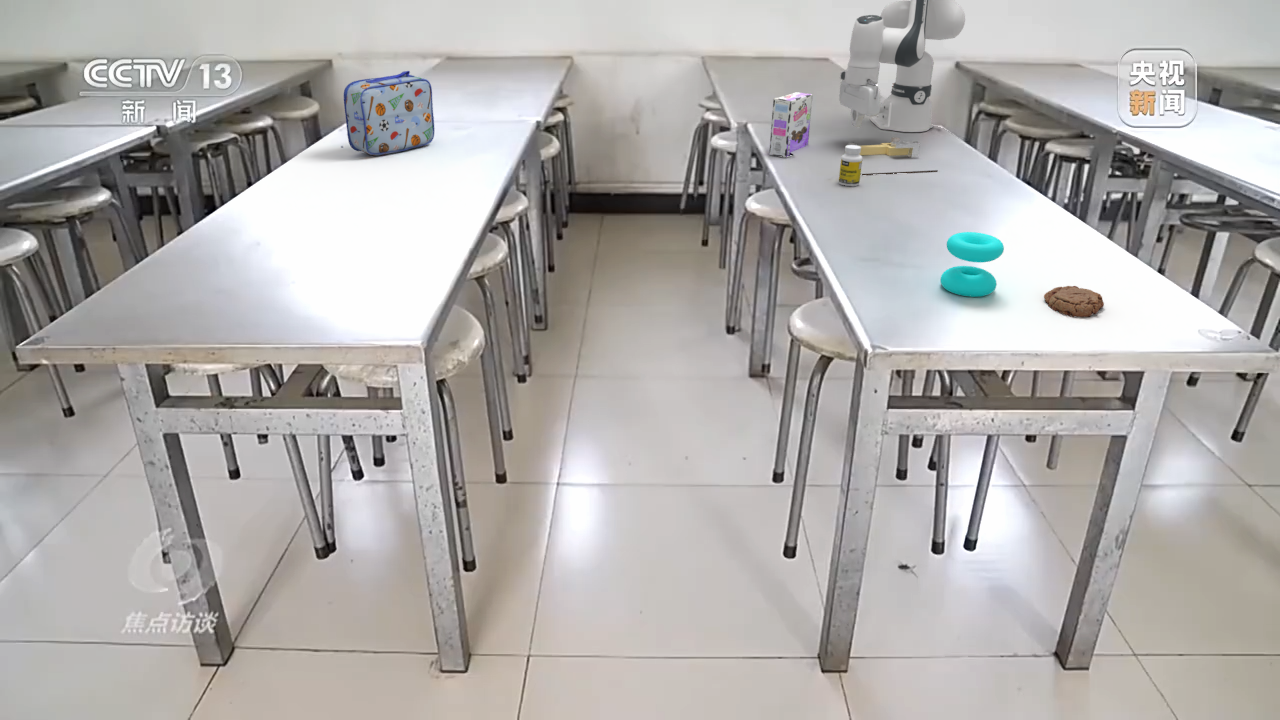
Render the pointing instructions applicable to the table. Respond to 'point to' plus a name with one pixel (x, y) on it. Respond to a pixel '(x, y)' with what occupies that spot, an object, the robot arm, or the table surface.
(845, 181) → the supplement bottle
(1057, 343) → the table surface
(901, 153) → the link
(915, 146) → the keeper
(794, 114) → the candy box
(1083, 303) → the cookie
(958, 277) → the cyan spool
